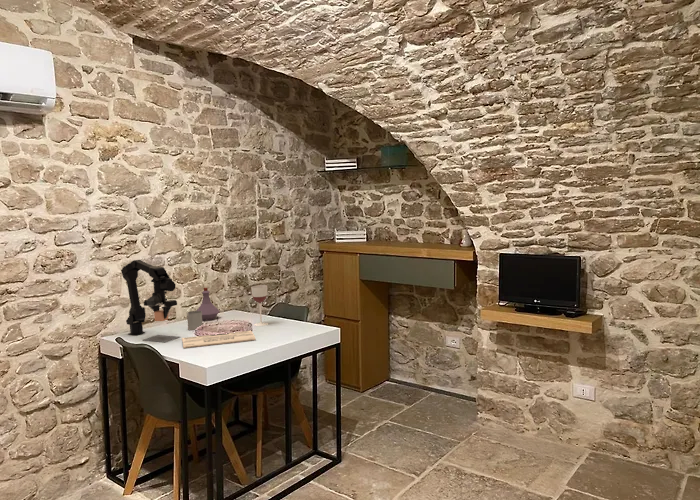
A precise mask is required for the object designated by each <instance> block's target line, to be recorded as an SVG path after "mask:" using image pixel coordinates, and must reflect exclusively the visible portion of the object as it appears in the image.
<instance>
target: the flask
mask: <svg viewBox="0 0 700 500" xmlns="http://www.w3.org/2000/svg"><path fill="white" fill-rule="evenodd" d="M210 293H211V291H209V290H208V287H203V291H202V292H201V294H202V300H201V304H200V305H199V307H198V308H197V310H196V311H202V322H203V321H204V322H205V321H213V320H214V319H215V318H216V317H217V315H218V314H219V313H220V312H221V311H220V310H219V309H218V307H216V306H215V305H214V304H213V303H212V301H211V299H210Z"/></svg>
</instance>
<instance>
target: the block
mask: <svg viewBox="0 0 700 500" xmlns="http://www.w3.org/2000/svg"><path fill="white" fill-rule="evenodd" d="M153 314H154V322H164V321H168V320H169V314H168V315H167V317H166V319H164V312H163V309H159V311H156V312H154V311H153Z"/></svg>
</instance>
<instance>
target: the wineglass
mask: <svg viewBox="0 0 700 500" xmlns="http://www.w3.org/2000/svg"><path fill="white" fill-rule="evenodd" d="M250 289H251V291H250V292H251V295H252V296H251V297H252V299H253V300H254V302H256V303H258V304H259V322H256V323H254V324H253V326H255V327H264V326H268V325H269V323H268V322H263V319H262V303H263V302H265V300H266V299H267V296H268V285H266V284H265V285H264V284H259V285H257V284H256V285H252V286H251V287H250Z"/></svg>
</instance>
